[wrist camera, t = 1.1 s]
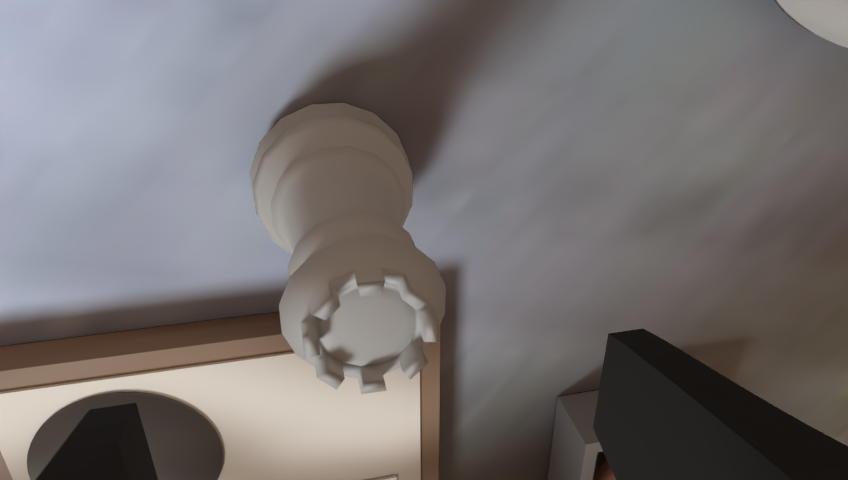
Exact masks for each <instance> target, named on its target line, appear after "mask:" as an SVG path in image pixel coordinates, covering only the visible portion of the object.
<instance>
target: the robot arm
mask: <svg viewBox="0 0 848 480" xmlns="http://www.w3.org/2000/svg"><path fill="white" fill-rule="evenodd" d="M593 429H594V431H595V434H596V436H597V438H598V441H599V443H600V445H601V448H602V450H603V452H604V455H605V457H606V459H607V461H608V464H609V466H610V468H611V470H612V472H613V474H614V476H615V478H616V480H848V446H846V445H844V444H842V443H840V442H839V441H837V440H835V439H833V438H831V437H829V436H827V435H825V434H824V433H822V432H820V431H818V430H816V429H814V428H812V427H810V426H809V425H807V424H805V423H803V422H801V421H800V420H798V419H796V418H794V417H793V416H791V415H789V414H787V413H785V412H784V411H782V410H780V409H778V408H777V407H775V406H773V405H772V404H770V403H768V402H766V401H765V400H763V399H761V398H760V397H758V396H756V395H754V394H753V393H751V392H749V391H748V390H746V389H744V388H743V387H741V386H739V385H738V384H736V383H734V382H733V381H731V380H729V379H728V378H726V377H724V376H723V375H721V374H719V373H718V372H716V371H714V370H713V369H711V368H710V367H708V366H706V365H705V364H703V363H701V362H700V361H698V360H696V359H695V358H693V357H691V356H690V355H688V354H686V353H685V352H683V351H681V350H680V349H678V348H676V347H675V346H673V345H671V344H670V343H668V342H666V341H665V340H663V339H661V338H659V337H658V336H656V335H654V334H652V333H650V332H648V331H646V330H645V329H638V330H631V331H624V332H617V333H610V334H608V340H607V346H606V352H605V358H604V364H603V370H602V376H601V382H600V388H599V394H598V400H597V406H596V412H595V418H594V424H593ZM35 480H158V477H157V474H156V470H155V467H154V463H153V460H152V456H151V453H150V449H149V446H148V442H147V439H146V435H145V432H144V428H143V425H142V421H141V418H140V414H139V411H138V407H137V404H136V403H130V404H123V405H117V406H110V407H103V408H96V409H90V410H89V411H88V412H87V413H86V414H85V415H84V416H83V418H82V419H81V420H80V422H79V423H78V424H77V425H76V427H75V428H74V429H73V431H72V432H71V433H70V434H69V436H68V437H67V438H66V440H65V441H64V442H63V444H62V445H61V446H60V448H59V449H58V450H57V452H56V453H55V454H54V456H53V457H52V458H51V460H50V461H49V462H48V463H47V465H46V466H45V467H44V469H43V470H42V471H41V473H40V474H39V475H38V476H37V478H36V479H35Z"/></svg>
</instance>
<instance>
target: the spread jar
mask: <svg viewBox="0 0 848 480" xmlns="http://www.w3.org/2000/svg"><path fill="white" fill-rule="evenodd" d="M774 1H775V3H776V4H777V5H778V6H779V8H780V9H781V10H782V11H783V12H784V13H785V14H786V15H788V16H789V17H790V18H791V19H792V20H794V21H795V22H796V23H798V24H799V25H801V26H802V27H804V28H805V29H807V30H809V31H810V32H812V33H814V34H816V35H818V36H820V37H822V38H824V39H826V40H828V41H831V42H833V43H835V44H838V45H841V46H844V47H847V48H848V0H774Z"/></svg>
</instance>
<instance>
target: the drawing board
mask: <svg viewBox="0 0 848 480" xmlns="http://www.w3.org/2000/svg"><path fill="white" fill-rule="evenodd" d="M440 327H441V323H440V325H439V342H429V343H428V344H427V345H426V346H425V347H424V348H423V349H424V352H425V355H426V358H427V360H428V364H427V365H426V366H425V367H423V368H422V369H421V370H420V371H419V372H418V373H417V374H416V375H415V376H414V377H413V378H412V379H411V380H410V379H409V378H408V377H407V376H406V375H405V374H404V372H403V371H402V369H401V367H399V368H397V369H395V370H393V371H391V372H389V373H386V374H384V375H383V377H384V381H385V385H386V389H387V391H381V392H373V393H366V394H361V390H360V385H359V381H358V378H353V377H347V376H344V377H345V379H344V380H343V382H342V383H341V385H340V386H339V387H338V389H337V390H336V389H334V388H333V387H331V386H329V385H328V384H326V383H324V382H323V381H321V380H319V379H318V378H317V377H316V368H315V367H314V366H312V365H311V364H309V363H307V362H306V361H304V360H302V359H301V358H299V357H298V356H297V355H296V354H295V352H294V351H293V349H292V348H291V346H290V345H289V343H288V342H287V340H286V339H285V337H284V336H283V334H282V330H281V321H280V312H274V313H266V314H258V315H250V316H242V317H234V318H226V319H218V320H210V321H202V322H194V323H186V324H178V325H170V326H162V327H154V328H146V329H138V330H130V331H122V332H114V333H107V334H99V335H91V336H83V337H75V338H67V339H59V340H51V341H43V342H35V343H27V344H19V345H11V346H3V347H0V480H35V479H36V478H37V476H38V475H39V474H40V473H41V471H42V470H43V469H44V467H45V466H46V465H47V463H48V462H49V461H50V460H51V458H52V457H53V456H54V454H55V453H56V452H57V450H58V449H59V448H60V446H61V445H62V444H63V442H64V441H65V440H66V438H67V437H68V436H69V434H70V433H71V432H72V431H73V429H74V428H75V427H76V425H77V424H78V423H79V422H80V420H81V419H82V418H83V416H84V415H85V414H86V413H87V412H88V411H89V410H90V409H96V408H103V407H110V406H117V405H123V404H130V403H136V404H137V407H138V411H139V414H140V418H141V421H142V425H143V428H144V432H145V435H146V439H147V442H148V446H149V449H150V453H151V456H152V460H153V463H154V467H155V470H156V474H157V477H158V480H439V412H440Z"/></svg>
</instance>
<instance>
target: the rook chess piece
mask: <svg viewBox="0 0 848 480" xmlns="http://www.w3.org/2000/svg"><path fill="white" fill-rule="evenodd" d="M250 173H251V181H252V189H253V197H254V201H255V207H256V214H257V215H258V217H259V219H260V220H261V222H262V223H263V225H264V227H265V228H266V230H267V231H268V233H269V235H270V236H271V238H272V239H273V241H274V242H275V243H276V244H278V245H279V246H281V247H282V248H284V249H285V250H286V251H288V252H289V253H291V254H292V257H291V259H290V262H289V265H288V271H289V279H288V282H287V285H286V287H285V290H284V293H283V295H282V298H281V301H280V303H279V312H280V321H281V330H282V334H283V336H284V337H285V339H286V340H287V342H288V343H289V345H290V346H291V348H292V349H293V351H294V352H295V354H296V355H297V356H298V357H299V358H301V359H302V360H304V361H306V362H307V363H309V364H311V365H312V366H314V367H315V368H316V377H317V378H318V379H319V380H321V381H323V382H324V383H326V384H328V385H329V386H331V387H333V388H334V389H336V390H337V389H338V387H339V386H340V385H341V383H342V382H343V380H344V379H345V377H344V376H347V377H353V378H358V381H359V385H360V390H361V394H366V393H373V392H381V391H387V389H386V385H385V381H384V377H383V375H384V374H386V373H389V372H391V371H393V370H395V369H397V368H399V367H401V369H402V371H403V372H404V374H405V375H406V376H407V377H408V378H409V379H410V380H411V379H412V378H413V377H414V376H415V375H416V374H417V373H418V372H419V371H420V370H421V369H422V368H423V367H425V366H426V365H427V364H428V360H427V358H426V355H425V352H424V349H423V348H424V347H425V346H426V345H427V344H428V343H429V342H439V325H440V323H441V321H442V319H443V317H444V315H445V302H446V286H445V284H444V282H443V279H442V277H441V275H440V273H439V271H438V269H437V266H436V264H435V262H434V261H432V260H431V259H430V258H429V257H427V256H426V255H425V254H424V253H422V252H421V251H420V250H419V249H417V248H416V246H415V244H414V242H413V240H412V238H411V236H410V234H409V233H408V232H407V231H406V230H405V229H403V228H402V227H403V225H404V222H405V220H406V218H407V215H408V213H409V211H410V209H411V206H412V196H413V172H412V170H411V168H410V165H409V160H408V157H407V155H406V153H405V151H404V148H403V146H402V144H401V142H400V139H399V137H398V135H397V133H396V132H395V131H393V130H392V129H391V128H390V127H389V126H388V125H387V124H386V123H385V122H384V121H382V120H381V119H380V118H379V117H378V116H377V115H376V114H375V113H372V112H369V111H366V110H364V109H361V108H358V107H355V106H352V105H349V104H346V103H329V104H311V105H309V106H307V107H305V108H302V109H300V110H298V111H296V112H294V113H292V114H289V115H287V116H285V117H283V118H281V119H280V120H279V121H278V122H277V124H276V125H275V126H274V127H273V128H272V129H271V130H270V131H269V132H268V133H267V135H266V136H265V137H264V138H263V139H262V140H261V141H260V143H259V146H258V149H257V152H256V155H255V158H254V161H253V164H252V167H251V170H250Z"/></svg>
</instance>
